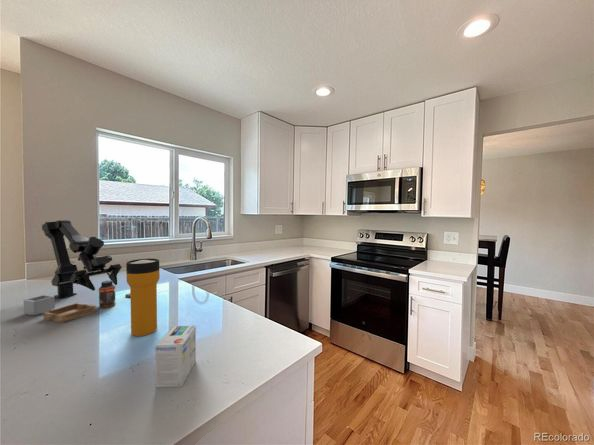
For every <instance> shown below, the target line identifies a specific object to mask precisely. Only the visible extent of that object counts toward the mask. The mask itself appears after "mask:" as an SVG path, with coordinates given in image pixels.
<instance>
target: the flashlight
mask: <svg viewBox="0 0 594 445" xmlns="http://www.w3.org/2000/svg"><path fill="white" fill-rule="evenodd" d="M125 267H126V268H125V270H126V283H127V285H128V286H129V288H130V290H129V291H130V292H129V293H130V334H131V336H134V335H135V337H144V335H146V336H149V335H151V334H153V333H154V332H156V331H157V330H156V329H158V304H157V303H158V300H157V296H158V292H157V291H158V289H157V288H158V286H157V284H158V282H159V281H160V259H158V258H140V259H133V260H129V261H126V266H125ZM155 330H156V331H155ZM152 332H153V333H152ZM150 333H151V334H150ZM148 334H149V335H148Z"/></svg>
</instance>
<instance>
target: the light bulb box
mask: <svg viewBox="0 0 594 445" xmlns="http://www.w3.org/2000/svg"><path fill="white" fill-rule="evenodd" d="M196 327H197V326H196V325H181V326H180V325H179V326H178V325H176V326H175V325H174V326H172V327H171V328H170V329H169V330H168V331H167V332H166V334H165V335H164V336H163V337H162V338H161V339H160V340H159V341H158V343H157V344H156V345H154V352H155V353H154V355H155V357H154V359H155V361H154V362H155V364H154V367H155V388H175V387H178V388H179V387H183V386H184V384H185V381H186V380H187V378H188V376H189V375H190V372H191V370H192V369H193V367H194V366H195V364H196V361H197V355H196V354H197V352H196V351H197V350H196V349H197V348H196V346H197V343H196V342H197V341H196V340H197V339H196V337H197V336H196V331H197V328H196Z"/></svg>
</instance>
